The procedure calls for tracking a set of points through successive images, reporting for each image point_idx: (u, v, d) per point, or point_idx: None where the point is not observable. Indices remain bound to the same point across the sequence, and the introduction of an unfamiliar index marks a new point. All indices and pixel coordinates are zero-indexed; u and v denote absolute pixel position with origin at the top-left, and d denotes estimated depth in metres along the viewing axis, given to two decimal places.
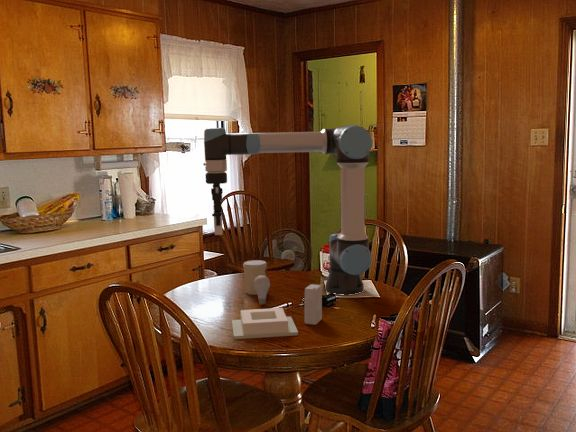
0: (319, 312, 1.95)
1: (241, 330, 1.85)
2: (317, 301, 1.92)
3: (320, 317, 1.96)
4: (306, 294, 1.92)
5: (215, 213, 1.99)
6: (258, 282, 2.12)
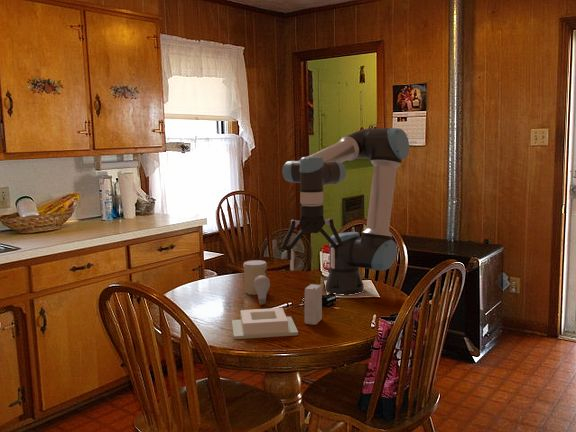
0: (319, 312, 1.95)
1: (241, 330, 1.85)
2: (317, 301, 1.92)
3: (320, 317, 1.96)
4: (306, 294, 1.92)
5: (281, 246, 1.91)
6: (258, 282, 2.12)
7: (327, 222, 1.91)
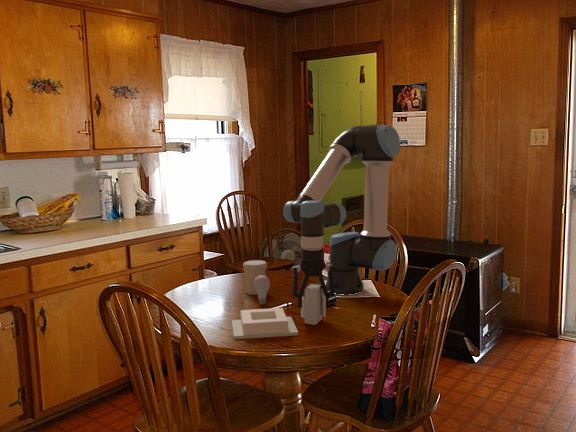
0: (319, 312, 1.95)
1: (241, 330, 1.85)
2: (317, 301, 1.92)
3: (320, 317, 1.96)
4: (306, 294, 1.92)
5: (292, 293, 1.94)
6: (258, 282, 2.12)
7: (327, 267, 1.93)
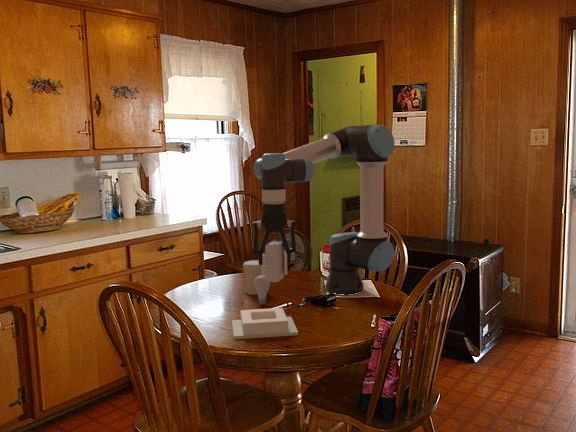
0: (281, 270, 1.88)
1: (241, 330, 1.85)
2: (278, 258, 1.85)
3: (282, 275, 1.89)
4: (267, 250, 1.84)
5: None
6: (258, 282, 2.12)
7: (289, 223, 1.86)
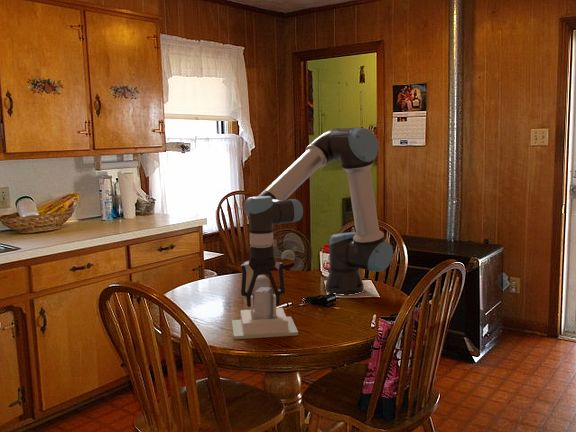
0: (270, 316, 1.89)
1: (241, 330, 1.85)
2: (267, 304, 1.86)
3: None
4: (256, 297, 1.85)
5: None
6: (258, 282, 2.12)
7: (277, 265, 1.86)
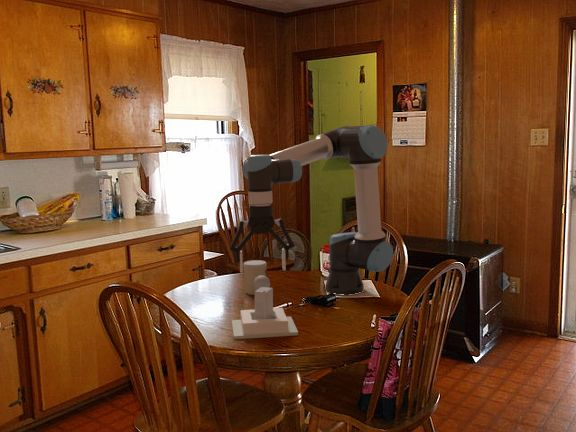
0: (270, 316, 1.89)
1: (241, 330, 1.85)
2: (267, 304, 1.86)
3: None
4: (256, 297, 1.85)
5: (230, 247, 1.85)
6: (258, 282, 2.12)
7: (277, 222, 1.85)
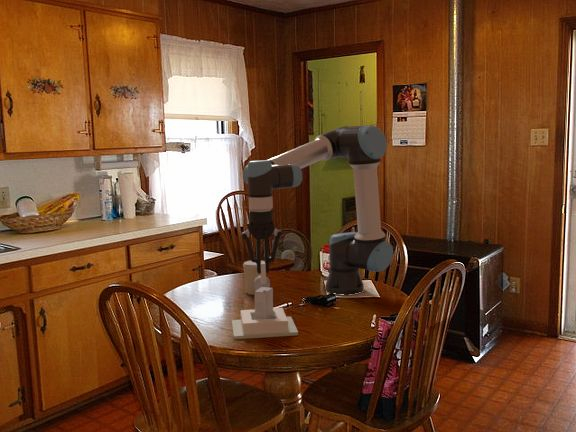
0: (270, 316, 1.89)
1: (241, 330, 1.85)
2: (267, 304, 1.86)
3: None
4: (256, 297, 1.85)
5: None
6: (258, 282, 2.12)
7: (275, 231, 1.85)
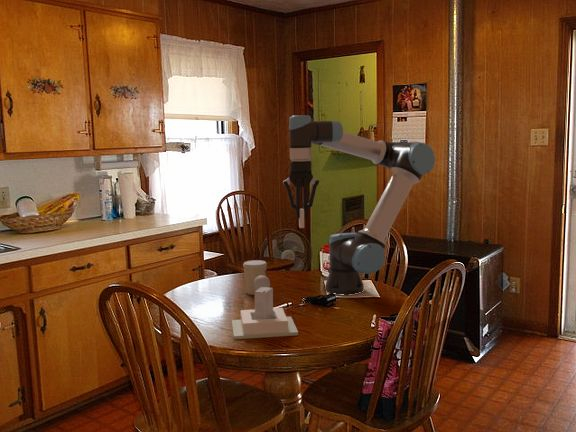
0: (270, 316, 1.89)
1: (241, 330, 1.85)
2: (267, 304, 1.86)
3: None
4: (256, 297, 1.85)
5: (290, 205, 2.06)
6: (258, 282, 2.12)
7: (313, 180, 2.05)
